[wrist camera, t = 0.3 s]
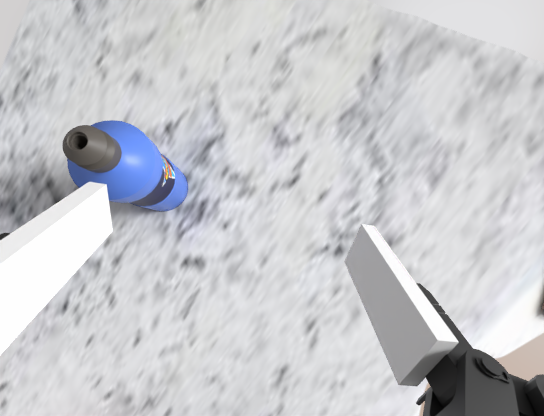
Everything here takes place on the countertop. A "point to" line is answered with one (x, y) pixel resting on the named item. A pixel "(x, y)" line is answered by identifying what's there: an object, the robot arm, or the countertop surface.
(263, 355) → the countertop surface
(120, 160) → the water bottle
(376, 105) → the countertop surface
